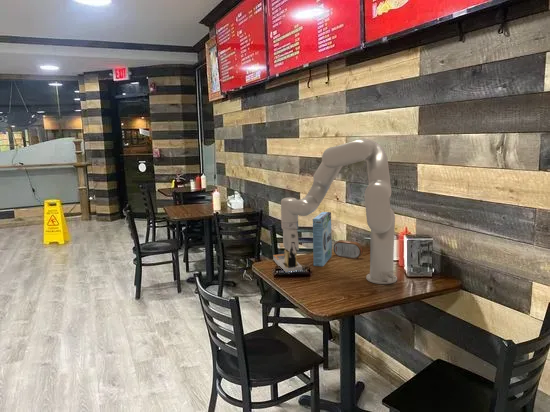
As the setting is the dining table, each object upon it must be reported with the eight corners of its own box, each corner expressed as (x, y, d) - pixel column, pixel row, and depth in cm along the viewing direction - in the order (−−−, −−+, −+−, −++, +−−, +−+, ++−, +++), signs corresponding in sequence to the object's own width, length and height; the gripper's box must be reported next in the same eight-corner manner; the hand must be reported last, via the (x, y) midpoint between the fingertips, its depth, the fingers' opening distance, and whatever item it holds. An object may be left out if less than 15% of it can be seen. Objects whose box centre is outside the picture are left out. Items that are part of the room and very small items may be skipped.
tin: (363, 258, 210) (363, 242, 208) (360, 260, 207) (360, 243, 206) (335, 254, 218) (335, 238, 216) (332, 256, 215) (332, 240, 214)
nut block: (296, 270, 192) (296, 250, 191) (287, 271, 191) (286, 251, 190) (294, 267, 197) (293, 248, 195) (284, 268, 196) (284, 249, 194)
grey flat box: (302, 272, 190) (302, 266, 190) (285, 274, 188) (285, 268, 188) (288, 259, 211) (288, 253, 211) (273, 261, 209) (273, 255, 209)
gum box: (323, 267, 197) (322, 219, 194) (312, 266, 199) (311, 218, 195) (332, 256, 215) (331, 212, 212) (322, 255, 217) (322, 211, 213)
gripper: (303, 228, 183) (304, 268, 186) (292, 221, 200) (293, 258, 203) (286, 229, 182) (287, 270, 185) (277, 222, 198) (278, 259, 201)
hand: (290, 263), depth 194 cm, fingers closed on nut block, 4 cm apart
